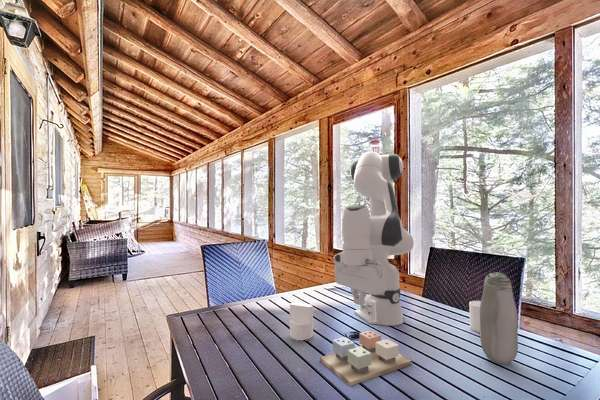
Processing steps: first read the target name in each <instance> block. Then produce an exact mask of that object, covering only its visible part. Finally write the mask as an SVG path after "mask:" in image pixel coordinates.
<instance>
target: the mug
mask: <svg viewBox="0 0 600 400" xmlns="http://www.w3.org/2000/svg"><path fill="white" fill-rule="evenodd" d="M480 304H481V300H472V301H469V303H468V306H469V307H468V308H469V311H468V312H469V327H470V330H472V331H473V332H476V333H478V334H479V333H480Z"/></svg>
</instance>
